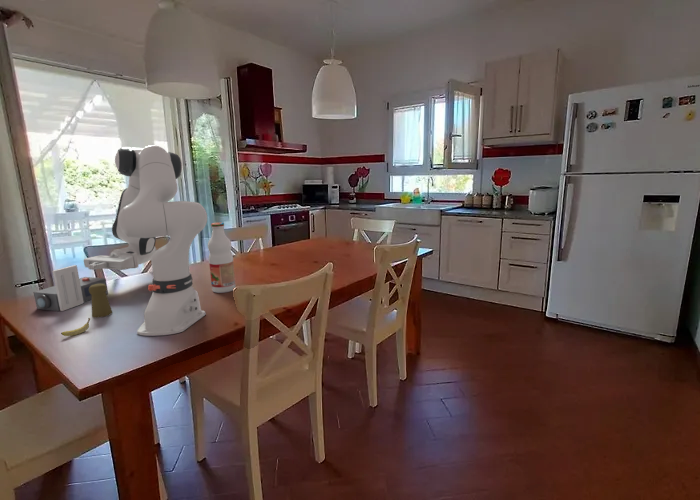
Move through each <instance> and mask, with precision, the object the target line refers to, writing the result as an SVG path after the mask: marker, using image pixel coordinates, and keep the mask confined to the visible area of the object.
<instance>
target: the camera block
mask: <svg viewBox="0 0 700 500" xmlns="http://www.w3.org/2000/svg"><path fill="white" fill-rule="evenodd" d="M79 280H80V285H81V291H82V296H83V301H84V303H87V302H88V301H90V300H91V301H92V295H91V294H90V293H89V287H90V286H91V285H94V284H105V285H106V287H107V288H108V284H107V279H106V278H103V277H93V276H92V277H90V276H83V277H79ZM107 294H109V291H108V289H107V291H106V295H107ZM33 296H34V297H33V298H34V301H35V305H36V309H38V310H43V311H45V310H46V311H52V312H53V311H54V312H61V311H60V307H59V302H58V297H57V292H56V287H55V285H53V286H49V287H46V288H42V289H39V290H36V291H33Z"/></svg>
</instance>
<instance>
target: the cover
mask: <svg viewBox="0 0 700 500" xmlns="http://www.w3.org/2000/svg"><path fill="white" fill-rule="evenodd" d="M52 276H53V281H54V286H55V287H56V292H57V297H58V302H59V307H60V311H59V312H64V311H66V310H70V309H72V308H74V307H78V306H80V305H81V306H82V305H83V304H84V303H85V302H84V301H83V296H82V291H81V285H80V280H79V279H80V275H79V271H78V266H77V265H76V264H73V265H70V266H67V267H62V268H58V269H55V270H52Z"/></svg>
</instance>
